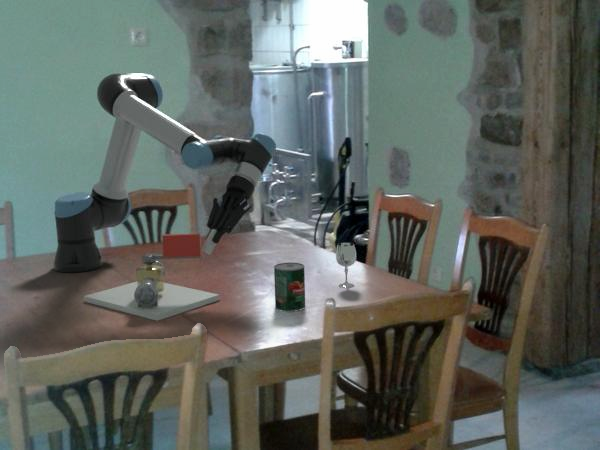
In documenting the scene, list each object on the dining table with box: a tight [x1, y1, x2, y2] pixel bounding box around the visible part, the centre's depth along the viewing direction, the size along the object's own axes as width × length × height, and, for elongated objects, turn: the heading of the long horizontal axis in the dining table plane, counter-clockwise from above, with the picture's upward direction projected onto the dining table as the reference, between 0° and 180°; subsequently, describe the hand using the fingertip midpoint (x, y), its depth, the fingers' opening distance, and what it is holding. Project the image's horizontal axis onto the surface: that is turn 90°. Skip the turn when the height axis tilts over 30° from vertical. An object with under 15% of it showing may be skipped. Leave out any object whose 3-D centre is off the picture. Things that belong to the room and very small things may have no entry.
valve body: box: [134, 260, 166, 307], centre depth 212 cm, size 26×7×9 cm, turn 6°
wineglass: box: [335, 242, 357, 289], centre depth 222 cm, size 6×6×12 cm
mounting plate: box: [83, 281, 220, 322], centre depth 213 cm, size 30×22×2 cm
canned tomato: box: [273, 261, 306, 312], centre depth 204 cm, size 8×8×11 cm
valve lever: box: [141, 232, 202, 265], centre depth 211 cm, size 16×4×7 cm, turn 93°
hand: (205, 251), depth 213 cm, fingers closed
